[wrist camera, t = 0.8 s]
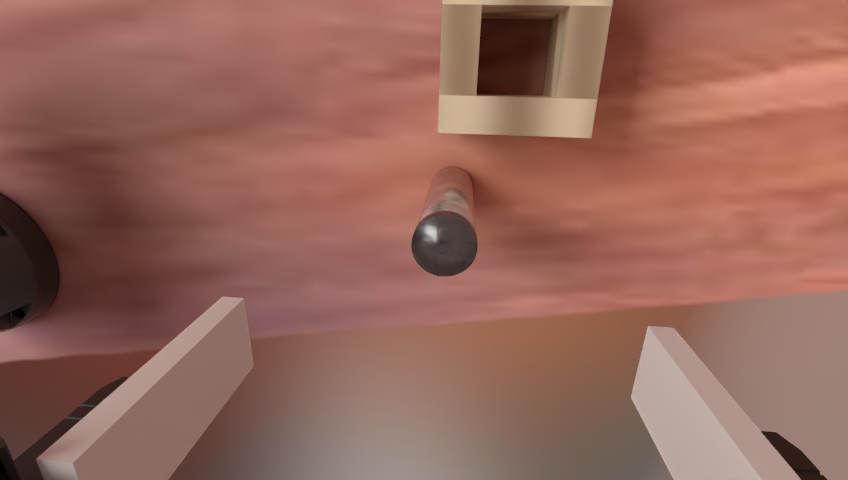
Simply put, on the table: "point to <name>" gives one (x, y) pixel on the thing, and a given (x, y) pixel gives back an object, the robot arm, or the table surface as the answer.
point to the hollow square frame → (564, 75)
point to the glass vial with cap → (447, 225)
